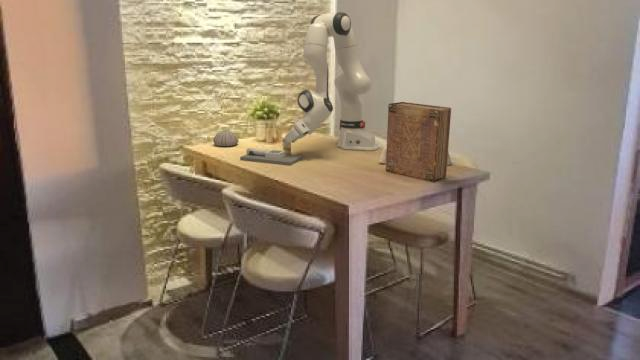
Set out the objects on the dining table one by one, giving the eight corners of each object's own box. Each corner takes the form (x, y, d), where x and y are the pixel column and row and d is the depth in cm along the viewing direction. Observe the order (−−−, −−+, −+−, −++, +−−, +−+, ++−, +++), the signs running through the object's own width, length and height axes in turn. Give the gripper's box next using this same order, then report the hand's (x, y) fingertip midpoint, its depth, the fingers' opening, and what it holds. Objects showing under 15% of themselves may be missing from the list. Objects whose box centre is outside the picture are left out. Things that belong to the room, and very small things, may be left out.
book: (446, 178, 233) (451, 107, 225) (434, 182, 227) (439, 109, 219) (397, 167, 250) (401, 101, 242) (385, 171, 244) (388, 103, 236)
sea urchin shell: (208, 145, 292) (207, 130, 290) (228, 141, 302) (227, 127, 300) (224, 149, 284) (224, 133, 282) (244, 145, 294) (243, 130, 292)
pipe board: (302, 159, 264) (302, 150, 262) (290, 165, 251) (290, 155, 250) (254, 154, 273) (254, 145, 272) (240, 159, 260) (240, 150, 259)
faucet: (406, 169, 266) (412, 150, 266) (383, 163, 254) (388, 142, 254) (400, 168, 269) (405, 148, 269) (376, 161, 257) (382, 141, 257)
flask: (441, 161, 263) (443, 141, 260) (454, 164, 258) (456, 143, 255) (432, 164, 258) (434, 143, 255) (445, 166, 253) (447, 145, 250)
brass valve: (292, 154, 274) (292, 138, 272) (289, 155, 270) (289, 139, 268) (285, 153, 276) (285, 137, 273) (281, 155, 272) (281, 139, 270)
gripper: (310, 117, 275) (292, 135, 281) (293, 123, 256) (275, 142, 262) (318, 127, 274) (300, 144, 280) (302, 133, 256) (283, 152, 262)
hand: (288, 143), depth 271 cm, fingers open, 8 cm apart
